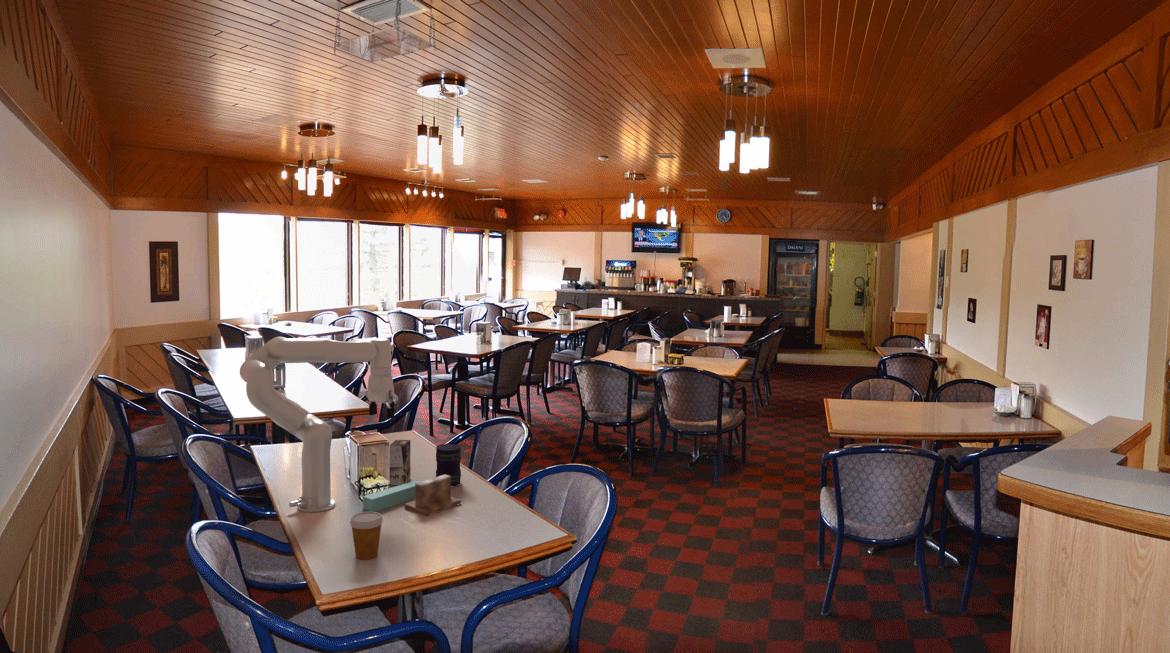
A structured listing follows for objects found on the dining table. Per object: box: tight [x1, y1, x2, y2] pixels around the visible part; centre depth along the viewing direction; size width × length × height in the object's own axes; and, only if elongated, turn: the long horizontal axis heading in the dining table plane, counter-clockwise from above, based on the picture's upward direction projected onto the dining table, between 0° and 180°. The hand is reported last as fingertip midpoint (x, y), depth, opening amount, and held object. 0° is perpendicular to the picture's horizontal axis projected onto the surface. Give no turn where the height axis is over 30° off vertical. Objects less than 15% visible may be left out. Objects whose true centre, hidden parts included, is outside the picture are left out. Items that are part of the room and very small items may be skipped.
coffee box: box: [388, 439, 412, 486], centre depth 279 cm, size 9×6×16 cm
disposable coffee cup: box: [349, 511, 384, 561], centre depth 210 cm, size 10×10×12 cm
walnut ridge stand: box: [404, 474, 462, 517], centre depth 253 cm, size 16×12×10 cm
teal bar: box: [362, 480, 421, 512], centre depth 257 cm, size 24×5×5 cm, turn 144°
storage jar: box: [435, 443, 462, 487], centre depth 279 cm, size 10×10×15 cm
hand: (381, 416), depth 263 cm, fingers open, 9 cm apart
